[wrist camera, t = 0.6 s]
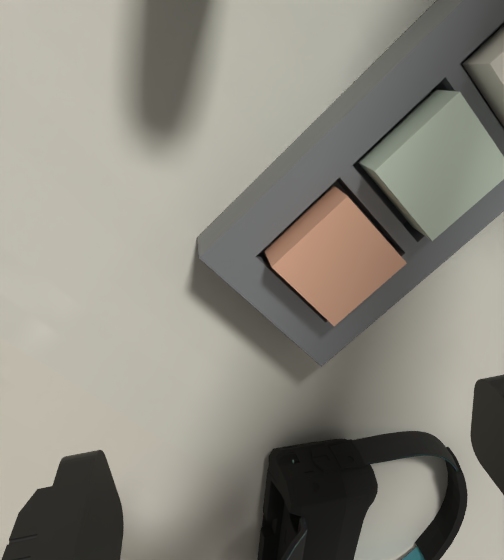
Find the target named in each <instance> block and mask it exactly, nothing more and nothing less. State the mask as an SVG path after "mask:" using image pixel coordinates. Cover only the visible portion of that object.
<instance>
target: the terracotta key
mask: <svg viewBox="0 0 504 560" xmlns="http://www.w3.org/2000/svg"><path fill="white" fill-rule="evenodd" d="M265 254H266V256H267V258H268V260H269V262H270V265H271V267H272V268H273V269H274V270H275V271H276V272H277V273H278V274H279V275H280V276H281V277H283V278H284V279H285V280H286V281H287V282H288V283H289V284H290V285H291V286H292V287H293V288H294V289H295V290H296V291H297V292H298V293H299V294H300V295H301V296H303V297H304V298H305V299H306V300H307V301H308V302H309V303H310V304H311V305H312V306H313V307H314V308H315V309H316V310H317V311H318V312H319V313H320V314H321V315H323V316H324V317H325V318H326V319H327V320H328V321H329V322H330V323H331V324H332V325H333V326H335V325H337V324H338V323H339V322H340V321H341V320H342V319H343V318H345V317H346V316H347V315H348V314H349V313H350V312H352V311H353V310H354V309H355V308H356V307H357V306H358V305H360V304H361V303H362V302H363V301H364V300H365V299H366V298H368V297H369V296H370V295H371V294H372V293H373V292H375V291H376V290H377V289H378V288H379V287H380V286H381V285H383V284H384V283H385V282H386V281H387V280H388V279H389V278H391V277H392V276H393V275H394V274H395V273H396V272H398V271H399V270H400V269H401V268H402V267H403V266H404V265H406V264H407V263H406V262H405V260H404V259H403V258H402V257H401V256H400V255H399V254H398V252H397V251H396V250H395V249H394V248H393V247H392V246H391V245H390V243H389V242H388V241H387V240H386V239H385V238H384V237H383V235H382V234H381V233H380V232H379V231H378V230H377V229H376V228H375V226H374V225H373V224H372V223H371V222H370V221H369V220H368V218H367V217H366V216H365V215H364V214H363V213H362V212H361V211H360V209H359V208H358V207H357V206H356V205H355V204H354V203H353V201H352V200H351V199H350V198H349V197H348V196H347V195H346V194H344V193H343V192H342V191H340V190H339V189H338V188H337V187H335V186H332V187H331V188H330V189H329V190H328V191H327V192H326V193H325V194H324V195H323V196H322V197H321V198H320V199H319V200H318V201H317V202H316V203H314V204H313V205H312V206H311V207H310V208H309V209H308V210H307V211H306V212H305V213H304V214H303V215H302V216H301V217H300V218H299V219H298V220H296V221H295V222H294V223H293V224H292V225H291V226H290V227H289V228H288V229H287V230H286V231H285V232H284V233H283V234H282V235H281V236H280V237H278V238H277V239H276V240H275V241H274V242H273V243H272V244H271V245H270V246H269V247H268V248H267V249H266V250H265Z"/></svg>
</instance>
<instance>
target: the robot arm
mask: <svg viewBox="0 0 504 560" xmlns="http://www.w3.org/2000/svg"><path fill="white" fill-rule="evenodd" d="M471 442H472V446H473V450H474V452H475V455H476V457H477V459H478V461H479V462H480V464H481V465H482V467H483V468H484V469H485V471H486V472H487V473H488V475H489V476H490V477H491V479H492V480H493V481H494V483H495V484H496V485H497V487H498V488H499V489H500V491H501V492H502V493H503V495H504V375H500V376H495V377H490V378H484V379H480V380H478V381H477V382H476V384H475V388H474V399H473V411H472V423H471ZM122 539H123V512H122V506H121V502H120V498H119V495H118V492H117V489H116V486H115V483H114V480H113V477H112V474H111V471H110V468H109V465H108V462H107V459H106V457H105V454H104V452H103V451H102V450H97V451H92V452H87V453H81V454H76V455H71V456H66V457H63V458H62V460H61V462H60V464H59V467H58V470H57V474H56V477H55V480H54V483H53V486H51V487H46V488H41V489H37V491H36V492H35V493H34V494H33V496H32V497H31V498H30V499H29V501H28V502H27V503H26V505H25V506H24V507H23V508H22V510H21V511H20V512H19V514H18V517H17V519H16V522H15V525H14V527H13V530H12V533H11V536H10V538H9V545H7V546H6V549H5V552H4V555H3V557H2V560H120V555H121V547H122Z"/></svg>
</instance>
